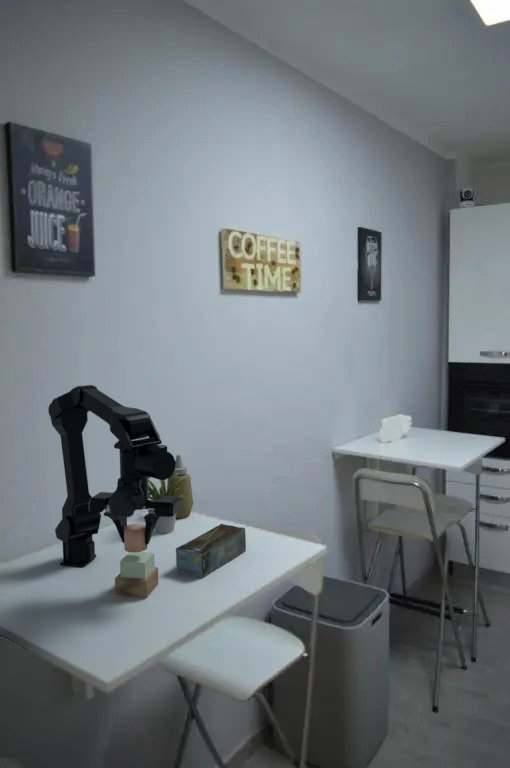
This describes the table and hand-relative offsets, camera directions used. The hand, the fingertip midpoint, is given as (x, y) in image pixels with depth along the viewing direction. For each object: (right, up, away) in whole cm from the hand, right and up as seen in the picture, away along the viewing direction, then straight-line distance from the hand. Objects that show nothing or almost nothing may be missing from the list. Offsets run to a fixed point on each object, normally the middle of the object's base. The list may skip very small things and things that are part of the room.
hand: (135, 543), depth 131 cm
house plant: (+2, -6, +38) cm, 39 cm away
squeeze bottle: (+3, -5, +50) cm, 51 cm away
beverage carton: (+15, -9, +17) cm, 24 cm away
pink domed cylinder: (0, -1, 0) cm, 1 cm away
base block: (0, -11, +1) cm, 11 cm away
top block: (0, -7, +1) cm, 7 cm away
